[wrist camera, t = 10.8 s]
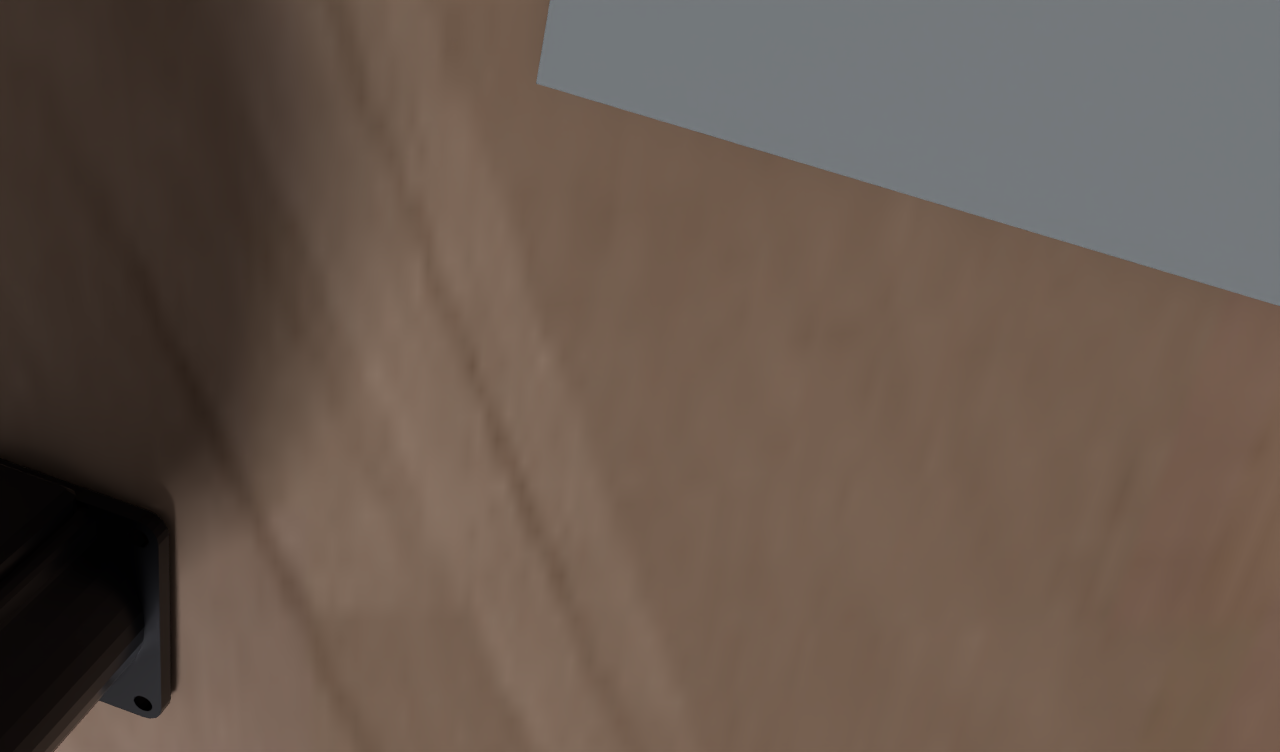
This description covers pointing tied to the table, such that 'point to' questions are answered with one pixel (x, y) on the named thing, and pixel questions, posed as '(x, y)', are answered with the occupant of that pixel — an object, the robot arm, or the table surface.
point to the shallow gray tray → (980, 108)
